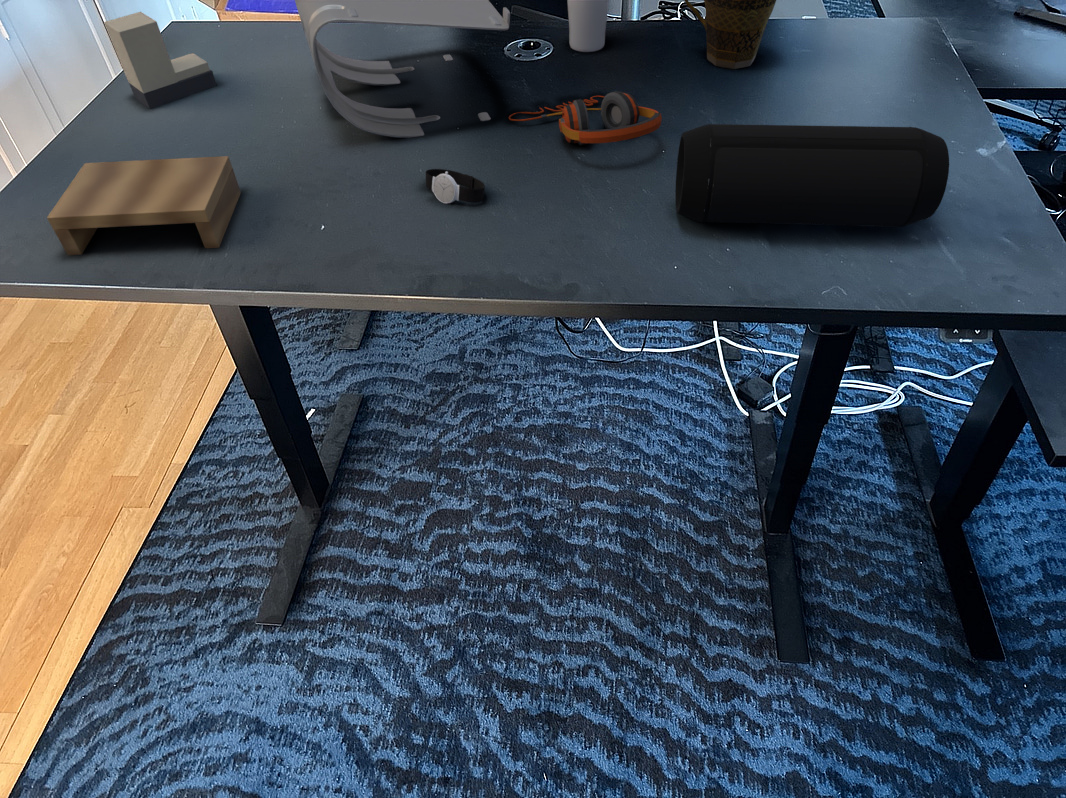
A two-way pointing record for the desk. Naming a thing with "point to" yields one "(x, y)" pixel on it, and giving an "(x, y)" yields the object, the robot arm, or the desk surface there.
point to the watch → (454, 186)
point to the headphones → (616, 116)
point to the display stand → (147, 198)
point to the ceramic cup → (734, 30)
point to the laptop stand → (396, 4)
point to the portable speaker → (810, 174)
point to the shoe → (155, 62)
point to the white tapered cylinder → (587, 24)
